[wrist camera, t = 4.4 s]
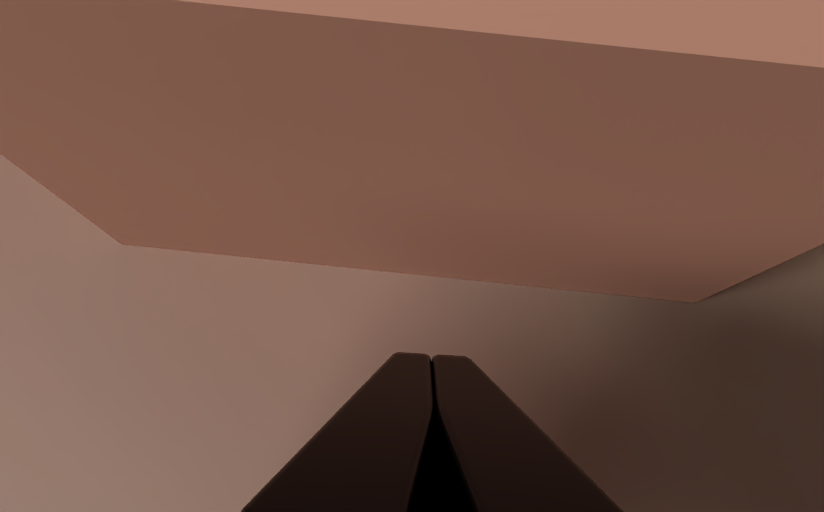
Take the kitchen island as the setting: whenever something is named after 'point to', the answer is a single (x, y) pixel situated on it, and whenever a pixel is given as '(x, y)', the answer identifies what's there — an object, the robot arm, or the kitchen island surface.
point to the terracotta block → (434, 133)
